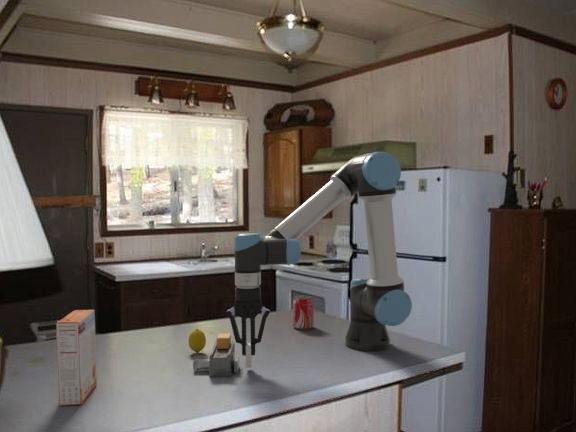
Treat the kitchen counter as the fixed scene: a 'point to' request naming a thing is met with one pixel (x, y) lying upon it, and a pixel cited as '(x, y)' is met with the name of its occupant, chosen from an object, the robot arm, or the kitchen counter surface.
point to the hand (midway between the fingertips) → (248, 366)
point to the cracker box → (76, 357)
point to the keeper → (223, 341)
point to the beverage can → (303, 312)
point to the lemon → (197, 340)
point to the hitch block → (221, 361)
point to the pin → (204, 364)
